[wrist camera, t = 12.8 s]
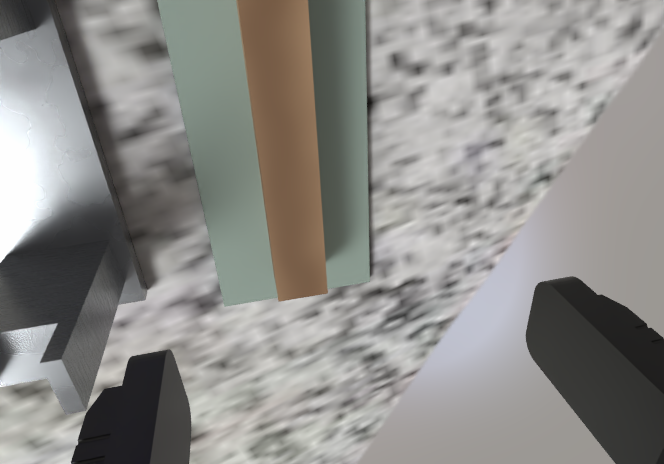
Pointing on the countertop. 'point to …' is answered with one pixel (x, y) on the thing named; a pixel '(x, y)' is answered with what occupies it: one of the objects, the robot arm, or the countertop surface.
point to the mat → (240, 146)
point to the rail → (286, 140)
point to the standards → (55, 215)
